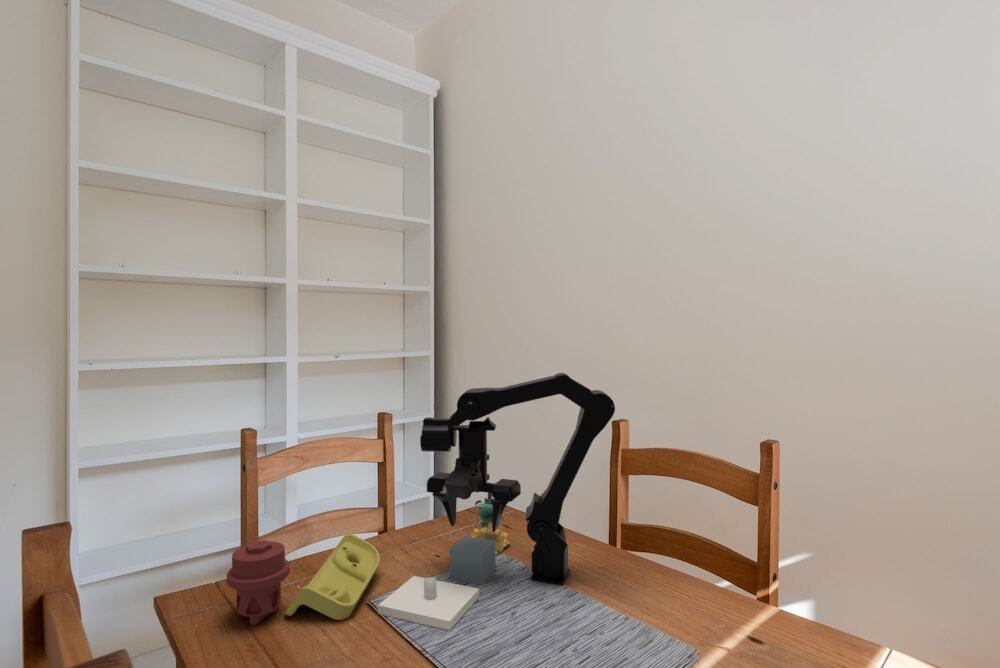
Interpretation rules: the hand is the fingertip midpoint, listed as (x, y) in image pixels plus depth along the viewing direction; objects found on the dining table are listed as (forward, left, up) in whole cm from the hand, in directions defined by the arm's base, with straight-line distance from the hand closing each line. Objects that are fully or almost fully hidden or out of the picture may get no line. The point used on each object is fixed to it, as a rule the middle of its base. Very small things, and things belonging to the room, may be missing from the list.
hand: (473, 528), depth 109 cm
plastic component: (+20, +17, -10) cm, 28 cm away
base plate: (+2, +14, -9) cm, 17 cm away
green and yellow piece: (+3, -16, -10) cm, 19 cm away
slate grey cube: (0, 0, -9) cm, 9 cm away
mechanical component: (+28, +28, -10) cm, 41 cm away
